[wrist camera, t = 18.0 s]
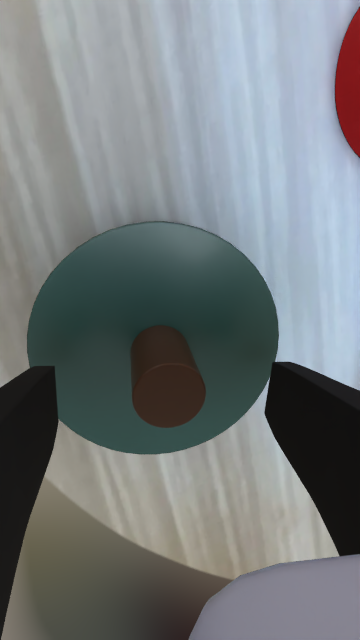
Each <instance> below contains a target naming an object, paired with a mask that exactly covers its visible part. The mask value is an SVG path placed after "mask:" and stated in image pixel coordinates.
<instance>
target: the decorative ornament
mask: <svg viewBox="0 0 360 640" xmlns="http://www.w3.org/2000/svg"><path fill="white" fill-rule="evenodd" d="M335 101H336V109H337V114H338V118H339V122H340V125H341V128H342V131H343V133H344V135H345V137H346V139H347V141H348V143H349V145H350V146H351V148H352V149H353V150H354V152H355V153H356V154H357V155H358V156H359V157H360V7H359V9H358V10H357V12H356V14H355V15H354V17H353V19H352V21H351V23H350V25H349V27H348V29H347V32H346V34H345V37H344V40H343V43H342V46H341V50H340V54H339V58H338V64H337V71H336V83H335Z"/></svg>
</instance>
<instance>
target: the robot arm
mask: <svg viewBox="0 0 360 640" xmlns="http://www.w3.org/2000/svg"><path fill="white" fill-rule="evenodd" d="M265 416H266V418H267V421H268V423H269V426H270V428H271V430H272V433H273V435H274V437H275V439H276V441H277V442H278V444H279V446H280V447H281V449H282V451H283V452H284V454H285V456H286V457H287V459H288V461H289V462H290V464H291V465H292V467H293V469H294V470H295V472H296V473H297V475H298V477H299V478H300V480H301V482H302V483H303V485H304V486H305V488H306V490H307V491H308V493H309V495H310V496H311V498H312V500H313V502H314V503H315V505H316V507H317V509H318V511H319V513H320V515H321V517H322V519H323V521H324V523H325V525H326V527H327V530H328V532H329V534H330V536H331V538H332V540H333V542H334V544H335V547H336V549H337V551H338V553H339V557H331V558H322V559H314V560H305V561H296V562H288V563H279V564H276V565H273V566H269V567H266V568H263V569H260V570H256V571H253V572H250V573H247V574H243V575H240V576H239V577H237V578H236V579H235V580H233V581H232V582H231V583H230V584H229V585H227V586H226V587H224V588H223V589H222V590H220V591H219V592H218V593H217V594H215V595H214V596H213V597H211V598H210V599H209V600H208V601H207V603H206V604H205V606H204V608H203V610H202V612H201V614H200V616H199V618H198V620H197V622H196V624H195V627H194V629H193V631H192V633H191V635H190V637H189V640H360V391H359V390H356V389H354V388H352V387H349V386H347V385H345V384H342V383H340V382H338V381H336V380H333V379H331V378H329V377H326V376H324V375H322V374H320V373H317V372H315V371H313V370H311V369H308V368H306V367H303V366H301V365H298V364H295V363H292V362H272V368H271V374H270V381H269V387H268V393H267V400H266V406H265ZM57 427H58V407H57V392H56V378H55V366H33V367H31V368H30V369H28V370H26V371H25V372H23V373H22V374H20V375H19V376H17V377H16V378H14V379H13V380H11V381H10V382H8V383H7V384H5V385H4V386H2V387H1V388H0V640H1V636H2V631H3V627H4V622H5V617H6V612H7V608H8V604H9V599H10V595H11V590H12V586H13V581H14V577H15V572H16V568H17V563H18V560H19V555H20V551H21V547H22V543H23V538H24V535H25V531H26V528H27V524H28V521H29V517H30V514H31V512H32V509H33V506H34V503H35V500H36V498H37V495H38V492H39V489H40V486H41V483H42V480H43V478H44V475H45V472H46V469H47V466H48V463H49V460H50V457H51V454H52V451H53V447H54V442H55V438H56V432H57Z"/></svg>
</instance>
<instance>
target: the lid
mask: <svg viewBox="0 0 360 640" xmlns="http://www.w3.org/2000/svg"><path fill="white" fill-rule="evenodd" d="M278 338H279V332H278V318H277V313H276V307H275V304H274V301H273V298H272V295H271V292H270V290H269V288H268V286H267V284H266V282H265V280H264V278H263V277H262V276H261V274H260V273H259V271H258V270H257V268H256V267H255V266H254V265H253V264H252V262H251V261H250V260H249V259H248V258H247V257H246V256H245V255H244V254H243V253H242V252H240V251H239V250H238V249H237V248H235V247H234V246H233V245H232V244H230V243H229V242H227V241H225V240H224V239H222V238H220V237H218V236H217V235H215V234H212V233H210V232H207V231H205V230H203V229H200V228H197V227H193V226H189V225H186V224H182V223H174V222H165V221H154V222H140V223H134V224H127V225H124V226H121V227H117V228H114V229H111V230H108V231H106V232H104V233H102V234H99V235H97V236H95V237H93V238H91V239H90V240H88V241H87V242H85V243H83V244H82V245H80V246H79V247H77V248H76V249H75V250H74V251H73V252H71V253H70V254H69V255H68V256H67V257H66V258H64V259H63V260H62V261H61V263H60V264H59V265H58V266H57V267H56V268H55V269H54V271H53V272H52V273H51V274H50V276H49V277H48V279H47V280H46V282H45V283H44V285H43V286H42V288H41V290H40V292H39V294H38V296H37V298H36V301H35V303H34V305H33V309H32V312H31V316H30V319H29V325H28V333H27V354H28V360H29V365H30V368H31V367H33V366H55V378H56V392H57V407H58V418H59V420H60V421H62V422H63V423H64V424H65V425H66V426H67V427H69V428H70V429H71V430H72V431H74V432H75V433H77V434H79V435H80V436H82V437H83V438H85V439H87V440H89V441H91V442H93V443H95V444H97V445H100V446H103V447H106V448H109V449H112V450H116V451H121V452H125V453H133V454H162V453H171V452H175V451H180V450H184V449H187V448H190V447H193V446H196V445H199V444H201V443H203V442H206V441H208V440H210V439H212V438H214V437H215V436H217V435H219V434H220V433H222V432H224V431H225V430H226V429H228V428H229V427H231V426H232V425H233V424H235V423H236V422H237V421H238V420H239V419H240V418H241V417H242V416H243V415H244V414H245V413H246V412H247V411H248V410H249V409H250V408H251V406H252V405H253V404H254V403H255V402H256V400H257V399H258V397H259V396H260V394H261V393H262V391H263V389H264V387H265V385H266V383H267V381H268V380H269V377H270V374H271V368H272V362H275V359H276V354H277V349H278Z"/></svg>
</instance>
